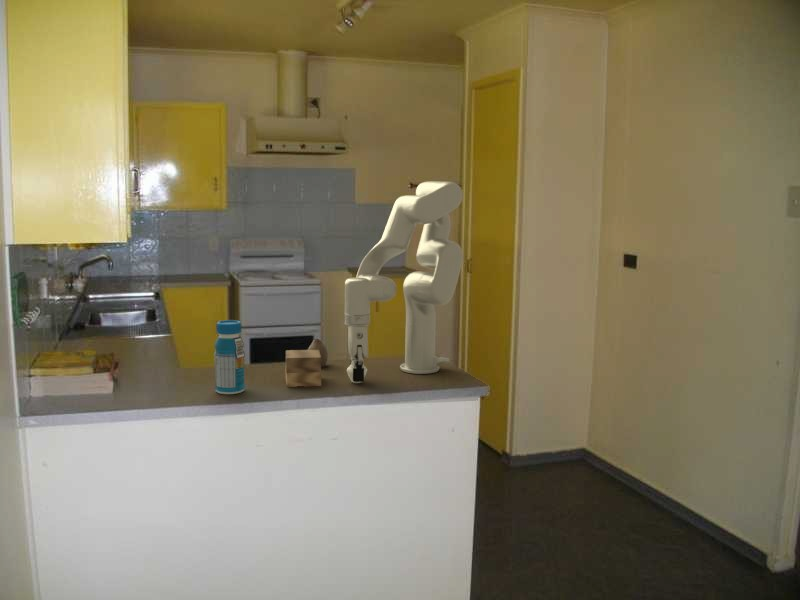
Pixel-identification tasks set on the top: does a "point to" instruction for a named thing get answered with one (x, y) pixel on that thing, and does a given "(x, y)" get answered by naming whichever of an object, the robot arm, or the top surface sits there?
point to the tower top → (303, 361)
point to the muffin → (350, 371)
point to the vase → (320, 350)
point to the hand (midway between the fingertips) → (356, 377)
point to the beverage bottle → (229, 358)
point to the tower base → (302, 379)
